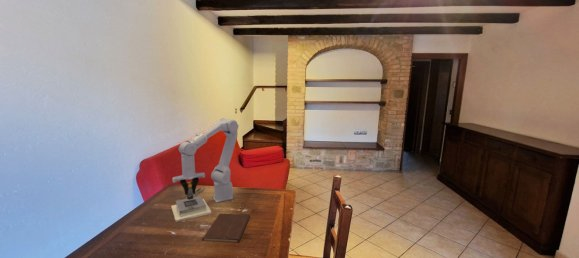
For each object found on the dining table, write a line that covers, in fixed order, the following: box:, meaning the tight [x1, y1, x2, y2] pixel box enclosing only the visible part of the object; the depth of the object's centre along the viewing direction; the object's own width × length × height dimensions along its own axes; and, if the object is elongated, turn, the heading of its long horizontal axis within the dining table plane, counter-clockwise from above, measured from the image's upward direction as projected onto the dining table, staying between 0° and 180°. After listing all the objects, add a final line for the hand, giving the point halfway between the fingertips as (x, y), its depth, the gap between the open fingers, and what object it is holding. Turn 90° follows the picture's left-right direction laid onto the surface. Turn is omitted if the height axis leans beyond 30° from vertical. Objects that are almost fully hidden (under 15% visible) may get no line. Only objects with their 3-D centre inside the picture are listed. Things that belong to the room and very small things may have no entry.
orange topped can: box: [186, 181, 195, 200], centre depth 124 cm, size 3×3×8 cm
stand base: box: [171, 198, 212, 223], centre depth 126 cm, size 16×16×1 cm
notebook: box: [201, 213, 251, 243], centre depth 111 cm, size 15×20×2 cm
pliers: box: [176, 187, 206, 201], centre depth 143 cm, size 10×1×20 cm
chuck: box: [175, 195, 206, 217], centre depth 125 cm, size 12×12×3 cm
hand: (190, 193), depth 124 cm, fingers closed on orange topped can, 3 cm apart
